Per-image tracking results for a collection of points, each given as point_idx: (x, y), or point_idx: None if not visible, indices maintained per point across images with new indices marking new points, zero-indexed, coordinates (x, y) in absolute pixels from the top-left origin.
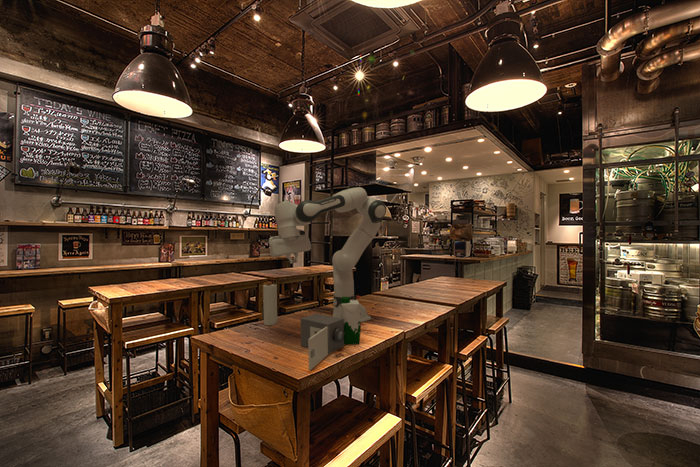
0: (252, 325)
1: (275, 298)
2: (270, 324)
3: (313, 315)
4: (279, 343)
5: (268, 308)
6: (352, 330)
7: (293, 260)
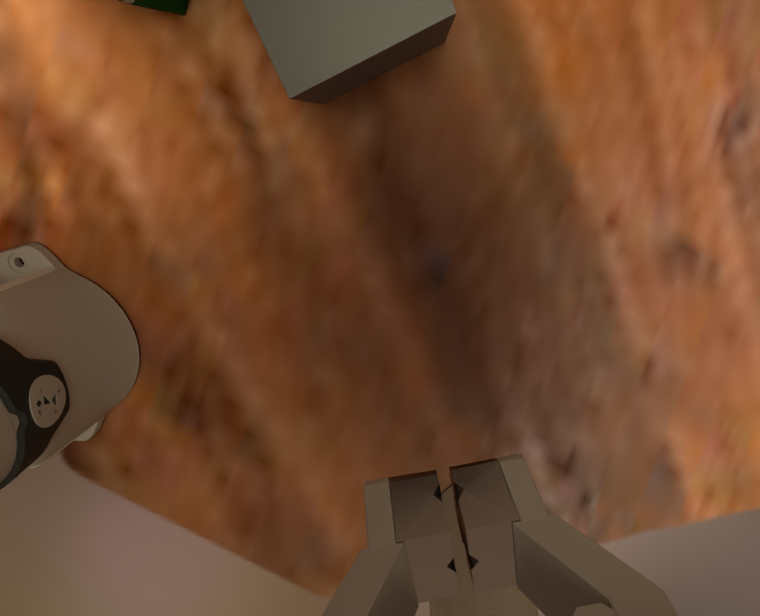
0: None
1: (450, 614)
2: None
3: (332, 46)
4: (538, 152)
5: None
6: None
7: (474, 499)
